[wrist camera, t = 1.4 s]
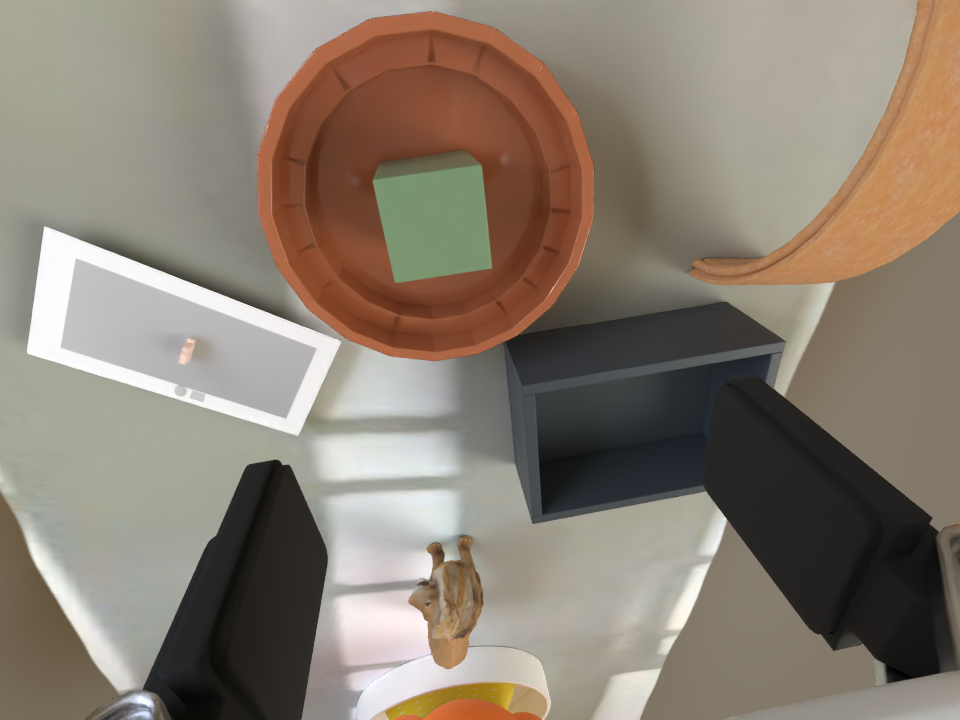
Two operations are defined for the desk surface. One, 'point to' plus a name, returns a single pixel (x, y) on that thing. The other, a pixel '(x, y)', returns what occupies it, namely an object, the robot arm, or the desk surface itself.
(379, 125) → the bowl
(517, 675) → the potted cactus
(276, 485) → the robot arm
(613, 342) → the bin
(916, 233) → the arch
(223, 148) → the desk surface
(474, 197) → the block
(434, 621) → the lion figurine
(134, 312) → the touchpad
